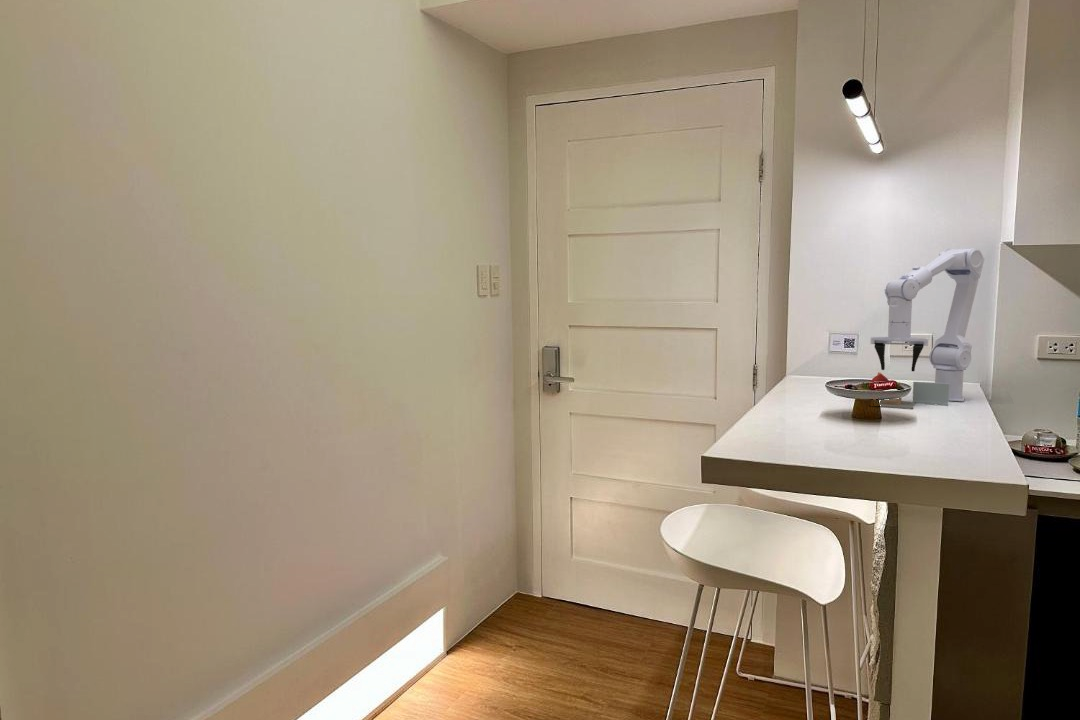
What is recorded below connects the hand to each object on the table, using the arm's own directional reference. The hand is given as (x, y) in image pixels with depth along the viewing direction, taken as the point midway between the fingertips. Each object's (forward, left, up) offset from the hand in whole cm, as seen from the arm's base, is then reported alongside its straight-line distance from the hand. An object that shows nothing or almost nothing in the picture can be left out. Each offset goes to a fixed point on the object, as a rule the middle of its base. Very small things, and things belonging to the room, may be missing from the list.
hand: (897, 370), depth 213 cm
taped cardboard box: (+1, -1, -9) cm, 9 cm away
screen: (-6, +8, -10) cm, 14 cm away
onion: (-9, -5, -10) cm, 15 cm away
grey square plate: (0, -1, -10) cm, 10 cm away
